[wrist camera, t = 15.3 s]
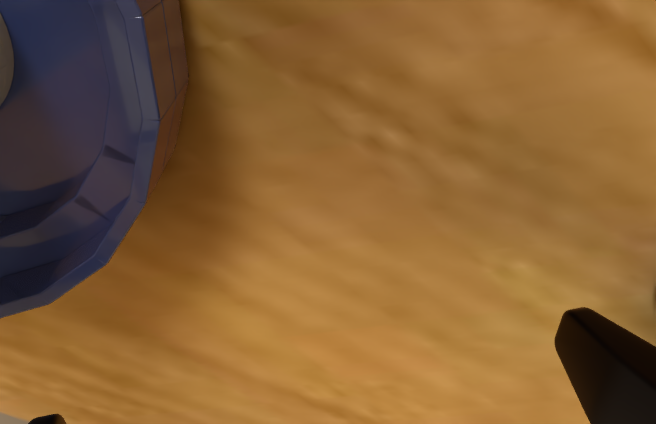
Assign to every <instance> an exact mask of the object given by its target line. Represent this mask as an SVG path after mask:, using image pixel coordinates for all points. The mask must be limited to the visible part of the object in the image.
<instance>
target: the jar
mask: <svg viewBox="0 0 656 424" xmlns="http://www.w3.org/2000/svg"><path fill="white" fill-rule="evenodd" d="M13 71H14V55H13V48H12V43H11V39H10V36H9V33H8V30H7V27H6V25H5V22H4V20H3V18H2V16H1V14H0V105H1V104H2V103H3V101H4V100H5V98H6V96H7V94H8V92H9V89H10V87H11V83H12V79H13Z"/></svg>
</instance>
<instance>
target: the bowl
mask: <svg viewBox="0 0 656 424" xmlns="http://www.w3.org/2000/svg"><path fill="white" fill-rule="evenodd" d="M0 14H1V16H2V18H3V20H4V22H5V25H6V27H7V30H8V33H9V36H10V39H11V43H12V48H13V55H14V71H13V79H12V83H11V87H10V89H9V92H8V94H7V96H6V98H5V100H4V101H3V103H2V104H1V105H0V318H3V317H6V316H10V315H13V314H17V313H20V312H24V311H27V310H31V309H34V308H38V307H41V306H45V305H48V304H50V303H52V302H54V301H55V300H56V299H58V298H59V297H61V296H62V295H64V294H65V293H66V292H68V291H69V290H71V289H72V288H74V287H75V286H77V285H78V284H79V283H81V282H82V281H84V280H85V279H87V278H88V277H89V276H91V275H92V274H94V273H95V272H97V271H98V270H99V269H101V268H102V267H104V266H105V265H106V264H107V263H108V262H109V261H110V259H111V258H112V256H113V254H114V253H115V251H116V250H117V248H118V247H119V245H120V244H121V242H122V240H123V239H124V237H125V236H126V234H127V233H128V231H129V230H130V228H131V226H132V225H133V223H134V222H135V220H136V219H137V217H138V215H139V214H140V212H141V211H142V209H143V208H144V206H145V205H146V203H147V201H148V199H149V197H150V195H151V193H152V191H153V189H154V188H155V186H156V184H157V182H158V180H159V178H160V176H161V174H162V172H163V171H164V169H165V167H166V165H167V163H168V161H169V159H170V157H171V155H172V154H173V152H174V149H175V146H176V141H177V136H178V130H179V125H180V120H181V115H182V110H183V105H184V100H185V95H186V90H187V85H188V77H189V74H188V67H187V59H186V52H185V44H184V36H183V29H182V21H181V14H180V6H179V0H0Z"/></svg>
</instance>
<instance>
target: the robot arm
mask: <svg viewBox="0 0 656 424" xmlns="http://www.w3.org/2000/svg"><path fill="white" fill-rule="evenodd" d="M555 348H556V351H557V353H558V355H559V358H560V360H561V362H562V364H563V366H564V368H565V371H566V373H567V375H568V377H569V379H570V381H571V383H572V386H573V388H574V390H575V392H576V394H577V396H578V398H579V401H580V403H581V405H582V407H583V409H584V411H585V413H586V415H587V417H588V419H589V421H590V423H591V424H656V347H655V346H653V345H652V344H650V343H648V342H646V341H645V340H643V339H641V338H640V337H638V336H636V335H634V334H633V333H631V332H629V331H628V330H626V329H624V328H622V327H621V326H619V325H617V324H616V323H614V322H612V321H610V320H609V319H607V318H605V317H604V316H602V315H600V314H598V313H597V312H595V311H593V310H591V309H589V308H585V307H581V308H576V309H572V310H567V311H566V312H565V313H564V314H563V316H562V319H561V322H560V324H559V327H558V330H557V333H556V336H555ZM28 424H66V422H65V420H64V418H63V417H62V416H61V415H59V414H52V415H47V416H42V417H37V418H35V419H33V420H31V421H30V422H29V423H28Z"/></svg>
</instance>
